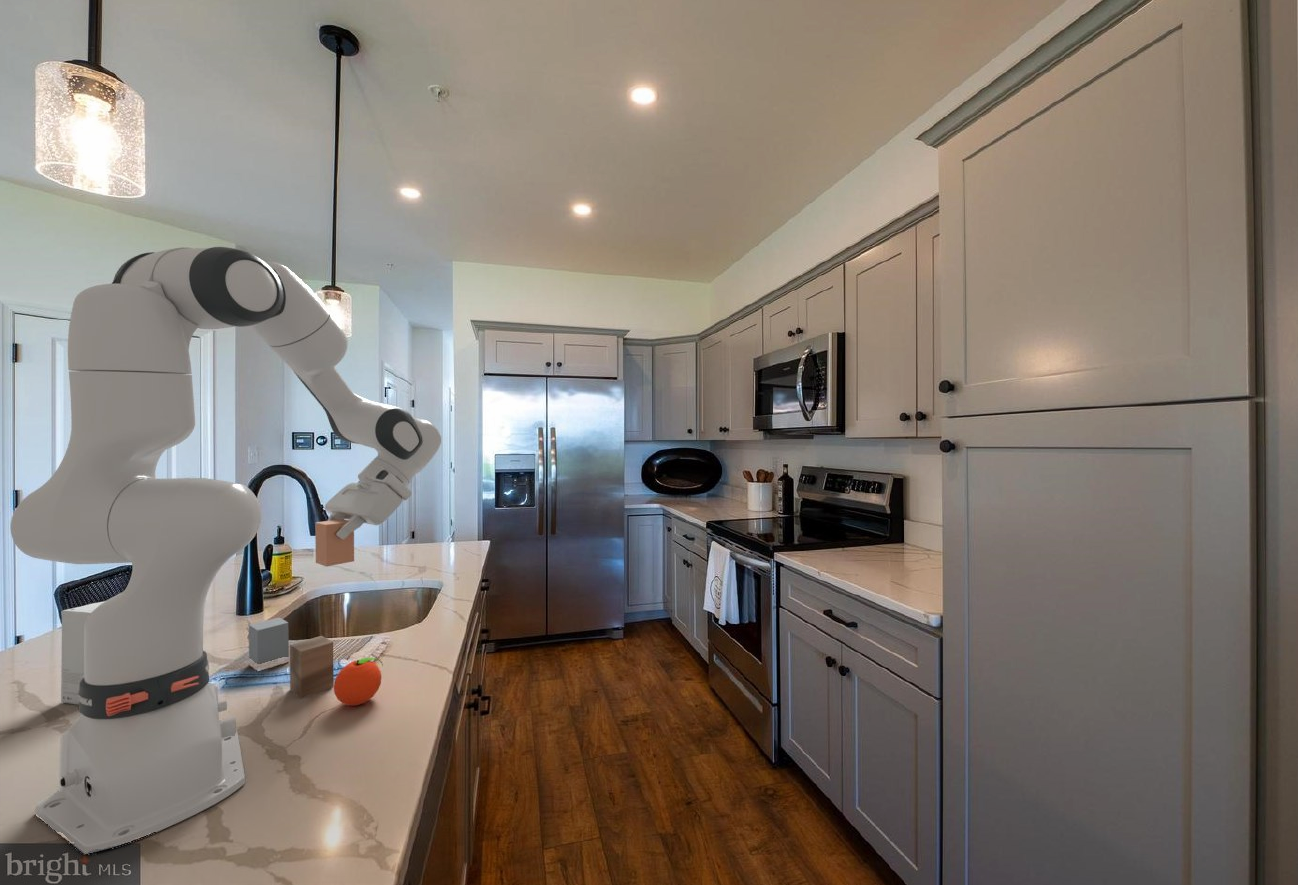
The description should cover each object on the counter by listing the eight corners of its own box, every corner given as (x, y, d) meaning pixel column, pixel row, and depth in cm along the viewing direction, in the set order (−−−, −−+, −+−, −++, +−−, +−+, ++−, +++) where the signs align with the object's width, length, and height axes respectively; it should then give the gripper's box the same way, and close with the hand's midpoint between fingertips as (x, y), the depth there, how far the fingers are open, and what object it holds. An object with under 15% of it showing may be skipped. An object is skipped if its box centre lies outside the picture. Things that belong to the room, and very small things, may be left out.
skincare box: (87, 707, 82) (86, 613, 82) (57, 703, 84) (56, 611, 83) (147, 683, 90) (146, 597, 90) (119, 679, 92) (118, 595, 92)
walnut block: (333, 686, 89) (333, 641, 89) (301, 698, 85) (300, 651, 85) (321, 678, 92) (321, 635, 92) (290, 689, 88) (289, 644, 88)
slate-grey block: (288, 662, 99) (288, 622, 99) (257, 672, 95) (257, 630, 95) (279, 656, 102) (279, 617, 102) (249, 665, 98) (248, 624, 97)
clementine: (370, 686, 89) (370, 646, 89) (396, 694, 86) (396, 653, 86) (324, 708, 82) (324, 664, 82) (351, 718, 79) (350, 673, 79)
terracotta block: (354, 561, 99) (353, 521, 99) (326, 566, 95) (326, 524, 95) (343, 557, 102) (342, 519, 102) (315, 562, 98) (315, 522, 98)
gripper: (348, 471, 110) (297, 520, 102) (394, 474, 98) (341, 531, 90) (369, 489, 114) (321, 538, 106) (416, 494, 102) (367, 551, 94)
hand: (331, 535), depth 98 cm, fingers closed on terracotta block, 5 cm apart
